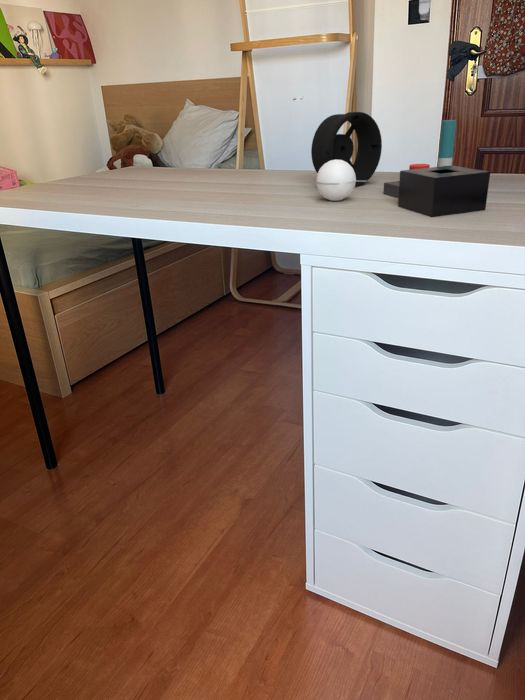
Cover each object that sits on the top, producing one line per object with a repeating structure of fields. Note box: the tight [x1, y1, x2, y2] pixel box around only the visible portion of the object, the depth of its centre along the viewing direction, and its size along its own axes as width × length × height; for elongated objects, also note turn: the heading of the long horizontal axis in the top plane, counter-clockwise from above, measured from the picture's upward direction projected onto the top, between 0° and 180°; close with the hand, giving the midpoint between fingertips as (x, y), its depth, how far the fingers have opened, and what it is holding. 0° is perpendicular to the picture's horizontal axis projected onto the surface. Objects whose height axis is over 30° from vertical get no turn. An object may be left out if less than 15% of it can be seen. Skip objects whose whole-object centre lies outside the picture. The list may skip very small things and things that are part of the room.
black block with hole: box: [397, 164, 491, 218], centre depth 86 cm, size 10×10×6 cm
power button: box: [408, 163, 431, 170], centre depth 98 cm, size 4×4×2 cm
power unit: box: [382, 180, 400, 199], centre depth 99 cm, size 10×8×4 cm
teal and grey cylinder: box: [437, 119, 457, 167], centre depth 108 cm, size 3×3×12 cm
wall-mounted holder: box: [310, 111, 383, 188], centre depth 111 cm, size 14×14×10 cm
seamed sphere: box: [315, 160, 356, 202], centre depth 96 cm, size 10×7×7 cm
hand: (424, 16), depth 103 cm, fingers open, 8 cm apart
